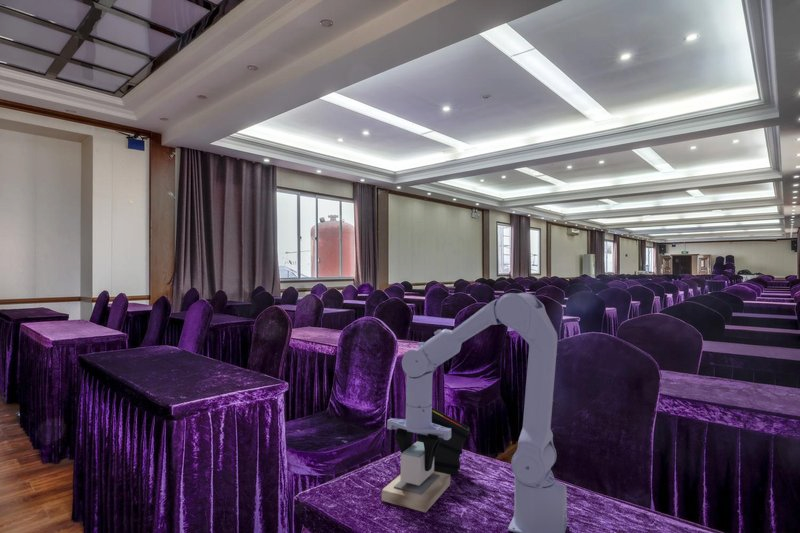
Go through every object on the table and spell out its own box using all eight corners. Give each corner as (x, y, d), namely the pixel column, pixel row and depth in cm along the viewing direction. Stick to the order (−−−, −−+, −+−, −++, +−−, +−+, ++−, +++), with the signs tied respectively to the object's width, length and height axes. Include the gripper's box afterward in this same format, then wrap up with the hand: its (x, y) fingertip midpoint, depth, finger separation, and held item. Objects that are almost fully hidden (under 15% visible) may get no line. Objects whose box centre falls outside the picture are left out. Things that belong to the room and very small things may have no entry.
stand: (450, 484, 101) (450, 473, 101) (425, 512, 89) (425, 499, 89) (410, 475, 106) (410, 464, 106) (381, 500, 93) (381, 488, 93)
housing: (419, 485, 93) (419, 456, 93) (400, 480, 95) (400, 452, 95) (434, 471, 100) (434, 444, 100) (416, 467, 102) (416, 440, 102)
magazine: (401, 458, 111) (428, 405, 111) (449, 485, 110) (476, 431, 110) (400, 464, 108) (427, 409, 107) (449, 492, 106) (477, 436, 106)
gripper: (456, 404, 98) (455, 467, 98) (397, 395, 105) (396, 454, 104) (445, 412, 92) (444, 479, 92) (383, 402, 99) (381, 465, 98)
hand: (417, 467), depth 98 cm, fingers closed on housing, 4 cm apart
